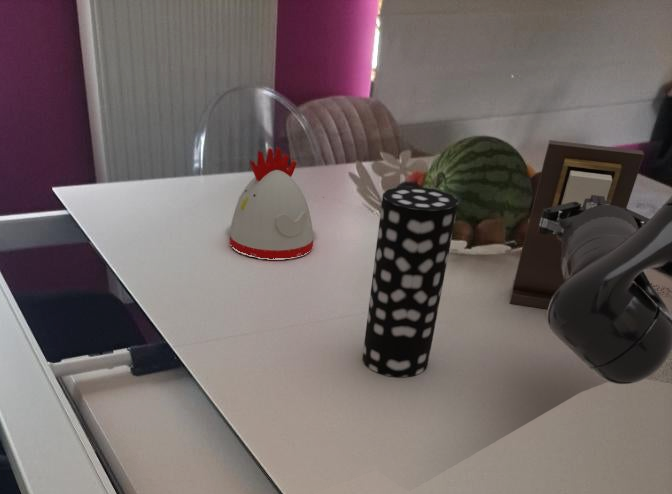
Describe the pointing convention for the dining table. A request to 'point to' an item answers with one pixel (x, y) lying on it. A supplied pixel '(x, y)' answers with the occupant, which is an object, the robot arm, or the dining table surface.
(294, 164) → the kitchen timer
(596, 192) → the switch button
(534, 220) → the wall panel
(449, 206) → the spotted tube
